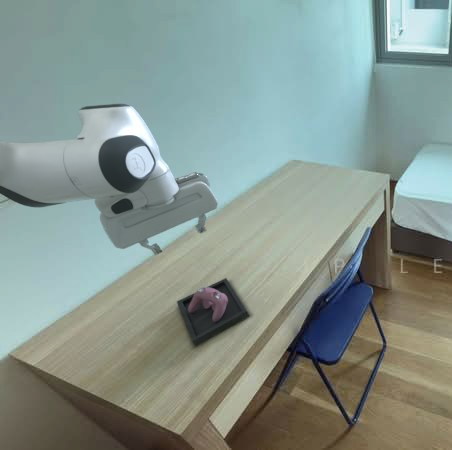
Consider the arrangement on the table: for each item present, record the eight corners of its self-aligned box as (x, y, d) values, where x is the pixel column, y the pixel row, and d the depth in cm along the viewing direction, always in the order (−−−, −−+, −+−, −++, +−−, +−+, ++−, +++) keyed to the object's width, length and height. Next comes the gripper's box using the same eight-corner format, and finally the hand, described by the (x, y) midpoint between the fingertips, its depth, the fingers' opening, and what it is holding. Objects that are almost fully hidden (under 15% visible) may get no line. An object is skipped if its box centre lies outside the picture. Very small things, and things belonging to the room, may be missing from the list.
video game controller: (230, 317, 79) (231, 291, 78) (214, 324, 75) (215, 297, 74) (203, 307, 83) (203, 282, 81) (186, 313, 78) (186, 287, 77)
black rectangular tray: (196, 346, 72) (192, 341, 71) (180, 306, 82) (176, 301, 81) (249, 316, 78) (247, 311, 77) (228, 282, 89) (226, 277, 88)
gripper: (197, 166, 70) (219, 216, 78) (83, 204, 57) (124, 260, 65) (209, 172, 67) (232, 224, 75) (92, 214, 54) (133, 272, 62)
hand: (181, 241), depth 70 cm, fingers open, 8 cm apart
